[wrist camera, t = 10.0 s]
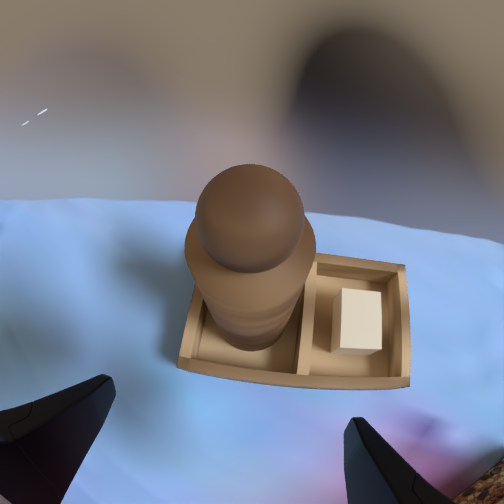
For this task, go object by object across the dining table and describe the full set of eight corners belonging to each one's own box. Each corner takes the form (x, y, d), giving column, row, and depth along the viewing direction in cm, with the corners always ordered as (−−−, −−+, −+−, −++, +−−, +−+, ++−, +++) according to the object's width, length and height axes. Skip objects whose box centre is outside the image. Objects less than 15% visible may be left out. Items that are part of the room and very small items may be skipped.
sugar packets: (368, 354, 19) (381, 349, 17) (330, 352, 19) (340, 347, 17) (369, 302, 21) (380, 292, 19) (333, 299, 21) (342, 288, 19)
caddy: (392, 389, 18) (409, 386, 15) (186, 370, 19) (176, 367, 16) (391, 278, 22) (404, 264, 20) (211, 256, 24) (207, 238, 21)
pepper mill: (254, 365, 18) (258, 301, 6) (203, 320, 20) (131, 191, 8) (299, 314, 20) (364, 179, 8) (248, 274, 22) (244, 116, 10)
